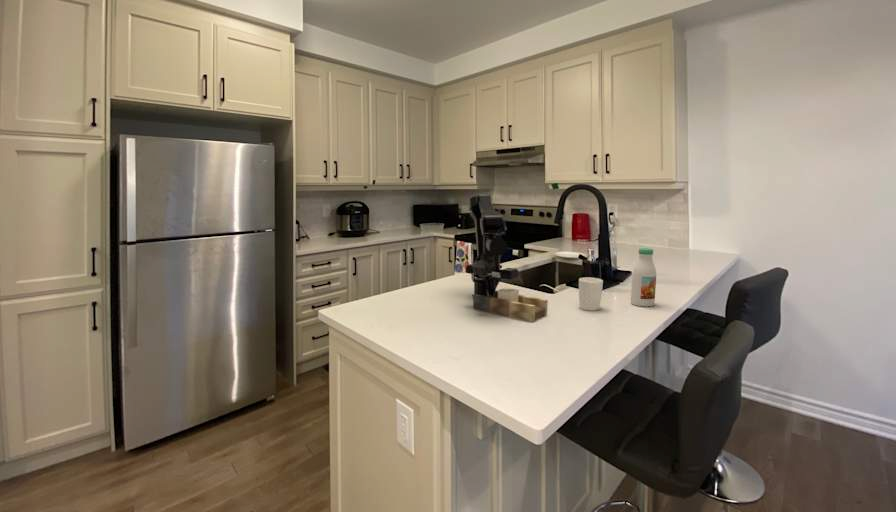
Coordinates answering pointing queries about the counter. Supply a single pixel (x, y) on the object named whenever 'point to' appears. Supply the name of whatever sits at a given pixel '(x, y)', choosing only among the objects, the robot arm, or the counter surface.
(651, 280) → the milk bottle
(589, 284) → the white cup
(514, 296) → the cream block
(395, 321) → the counter surface
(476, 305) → the channel
